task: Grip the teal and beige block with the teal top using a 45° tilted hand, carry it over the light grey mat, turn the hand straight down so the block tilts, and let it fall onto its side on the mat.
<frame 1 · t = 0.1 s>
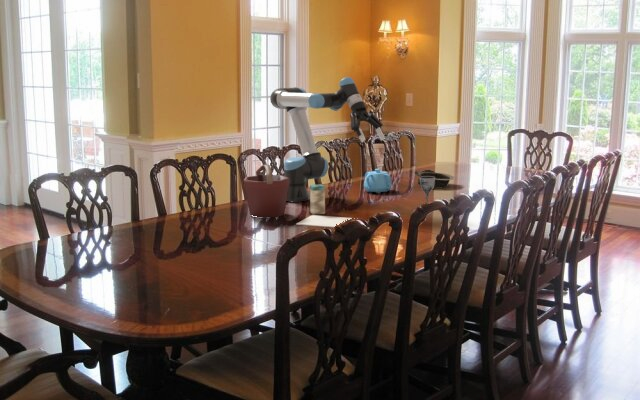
hand: (373, 140, 345), 36 cm above the table, tool tilted 35°, fingers open, 13 cm apart
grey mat: (327, 221, 324), on the table
wine glass: (426, 205, 361), on the table
teal and beige block: (317, 212, 345), on the table
decorative pot: (377, 192, 402), on the table
bucket: (268, 215, 342), on the table
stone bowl: (434, 186, 419), on the table
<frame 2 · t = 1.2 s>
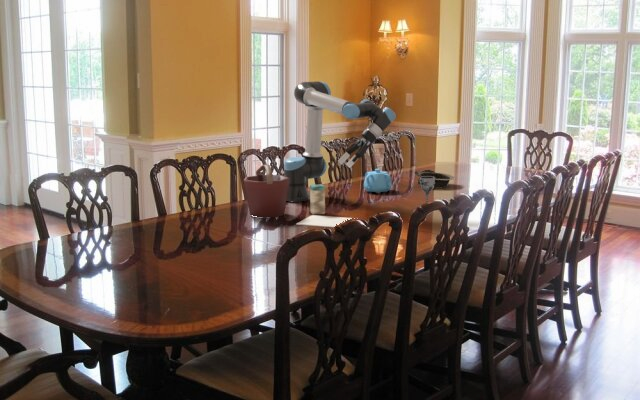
hand: (343, 164, 344), 24 cm above the table, tool tilted 45°, fingers open, 13 cm apart
nothing on the table moved.
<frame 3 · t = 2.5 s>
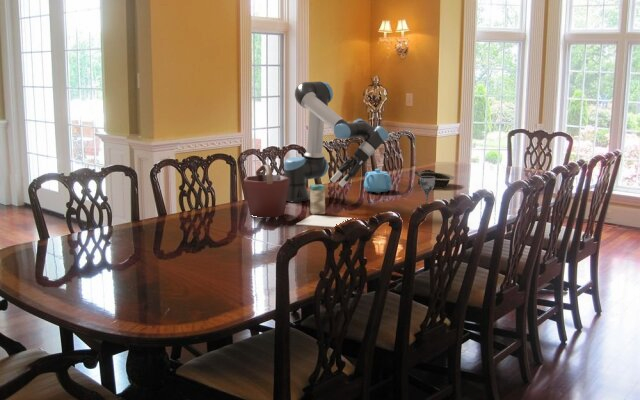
hand: (336, 183, 344), 15 cm above the table, tool tilted 45°, fingers open, 13 cm apart
nothing on the table moved.
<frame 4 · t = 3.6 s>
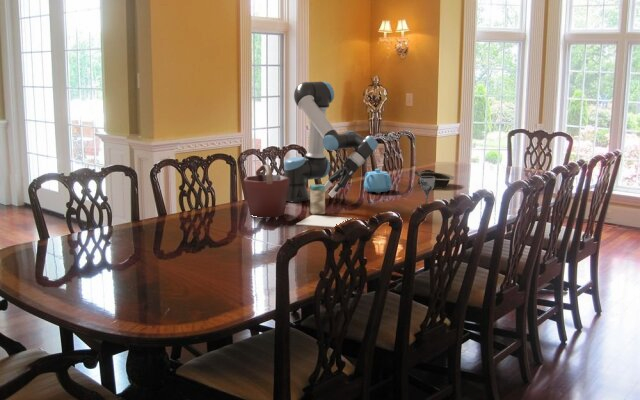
hand: (326, 193, 343), 10 cm above the table, tool tilted 45°, fingers open, 13 cm apart
nothing on the table moved.
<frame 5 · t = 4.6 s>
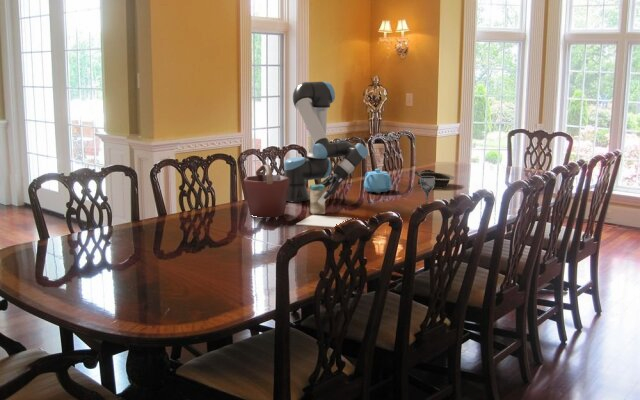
hand: (315, 200, 343), 6 cm above the table, tool tilted 45°, fingers open, 13 cm apart
nothing on the table moved.
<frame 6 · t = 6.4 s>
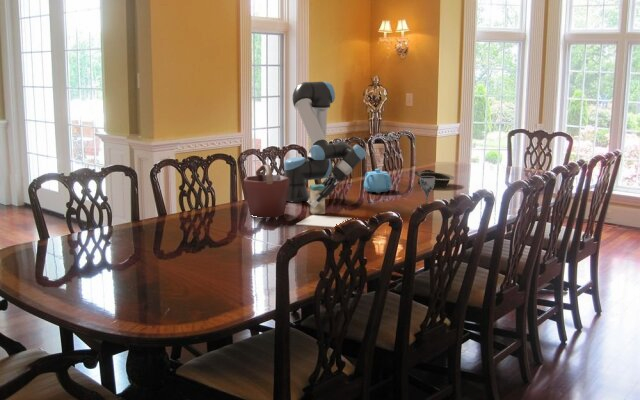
hand: (310, 204, 343), 4 cm above the table, tool tilted 45°, fingers closed on teal and beige block, 6 cm apart
teal and beige block: (317, 212, 345), on the table, touching gripper
everything else where it was.
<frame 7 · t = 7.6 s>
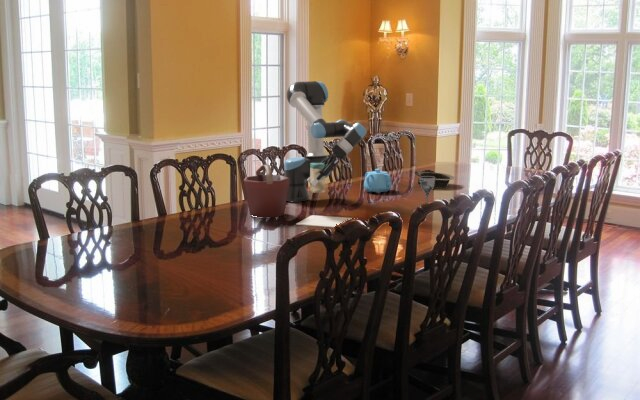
hand: (310, 182, 341), 15 cm above the table, tool tilted 45°, fingers closed on teal and beige block, 6 cm apart
teal and beige block: (317, 191, 343), point 11 cm above the table, touching gripper
everything else where it was.
when the fingers open (5 cm above the table, at t = 13.4 s): teal and beige block moves 2 cm and tips over, resting on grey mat.
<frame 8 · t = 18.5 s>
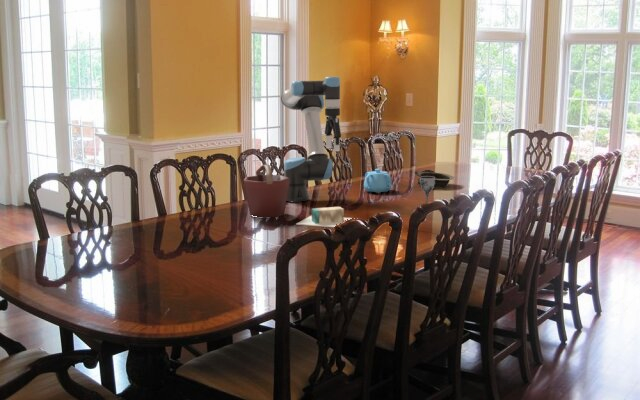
hand: (332, 149, 349), 31 cm above the table, tool pointing down, fingers open, 13 cm apart
teal and beige block: (341, 213, 325), point 3 cm above the table, tilted 90°, touching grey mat
everything else where it was.
at the end: teal and beige block tilted 90°; teal and beige block inside the target area on the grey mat (7.0 cm from its centre), point 3.4 cm above the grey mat's base; the gripper is holding nothing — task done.
